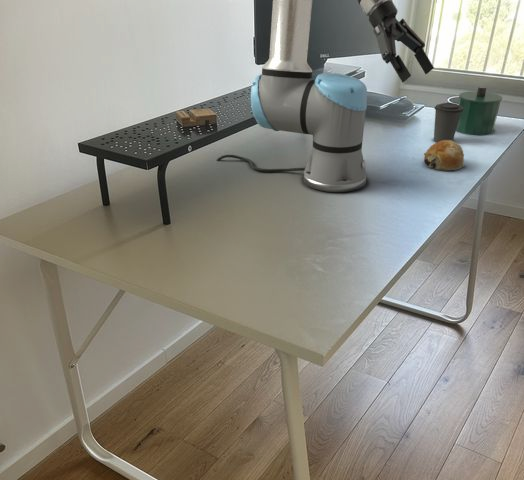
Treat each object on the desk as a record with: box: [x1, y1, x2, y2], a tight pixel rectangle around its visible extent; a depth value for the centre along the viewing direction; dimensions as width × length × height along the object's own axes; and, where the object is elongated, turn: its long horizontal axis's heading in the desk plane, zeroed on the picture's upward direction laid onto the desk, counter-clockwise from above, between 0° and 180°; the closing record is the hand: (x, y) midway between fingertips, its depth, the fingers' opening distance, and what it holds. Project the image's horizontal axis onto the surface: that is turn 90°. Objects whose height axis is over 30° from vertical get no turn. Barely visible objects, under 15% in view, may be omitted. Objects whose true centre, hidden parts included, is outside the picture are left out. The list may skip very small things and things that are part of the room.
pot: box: [456, 98, 501, 136], centre depth 167 cm, size 11×11×9 cm
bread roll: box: [423, 140, 465, 172], centre depth 144 cm, size 10×10×8 cm
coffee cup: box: [433, 102, 464, 143], centre depth 158 cm, size 8×8×10 cm
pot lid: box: [458, 85, 503, 103], centre depth 164 cm, size 12×12×4 cm
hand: (418, 75), depth 157 cm, fingers open, 13 cm apart
